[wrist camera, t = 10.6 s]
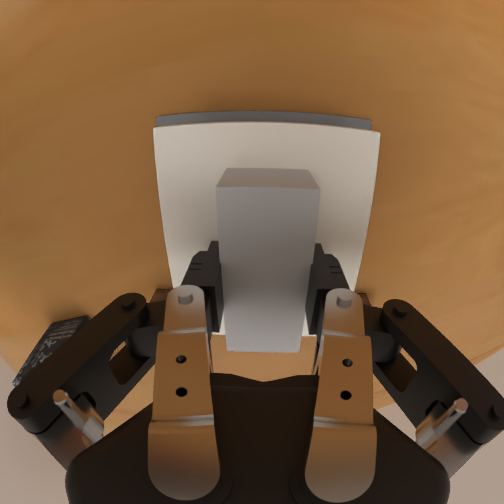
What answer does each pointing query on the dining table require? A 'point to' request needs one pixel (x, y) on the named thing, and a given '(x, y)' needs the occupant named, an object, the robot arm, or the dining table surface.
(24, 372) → the box
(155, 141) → the cover plate
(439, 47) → the dining table surface
